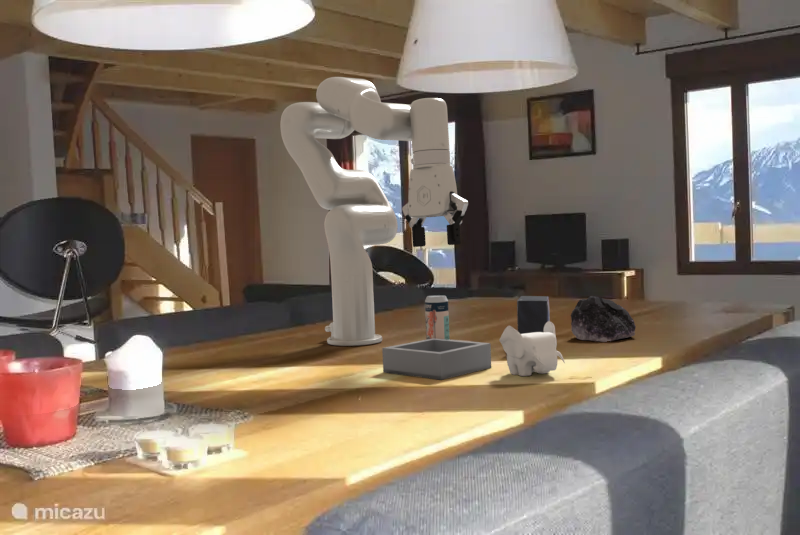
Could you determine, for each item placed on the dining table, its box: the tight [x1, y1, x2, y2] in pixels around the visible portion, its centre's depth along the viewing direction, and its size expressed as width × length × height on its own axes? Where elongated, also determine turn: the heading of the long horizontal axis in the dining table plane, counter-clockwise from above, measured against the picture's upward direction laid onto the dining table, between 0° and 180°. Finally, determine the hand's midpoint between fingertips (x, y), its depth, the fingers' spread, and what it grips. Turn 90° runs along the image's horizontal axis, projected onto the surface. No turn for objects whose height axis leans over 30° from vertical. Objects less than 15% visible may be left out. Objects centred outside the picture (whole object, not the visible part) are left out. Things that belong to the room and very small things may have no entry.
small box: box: [516, 295, 551, 334], centre depth 181 cm, size 11×6×10 cm, turn 168°
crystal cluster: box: [570, 295, 637, 343], centre depth 191 cm, size 13×14×10 cm
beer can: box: [424, 294, 450, 340], centre depth 176 cm, size 5×5×12 cm
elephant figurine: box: [499, 320, 566, 377], centre depth 150 cm, size 10×12×9 cm
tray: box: [381, 338, 492, 381], centre depth 158 cm, size 14×14×4 cm
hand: (436, 245), depth 175 cm, fingers open, 9 cm apart
